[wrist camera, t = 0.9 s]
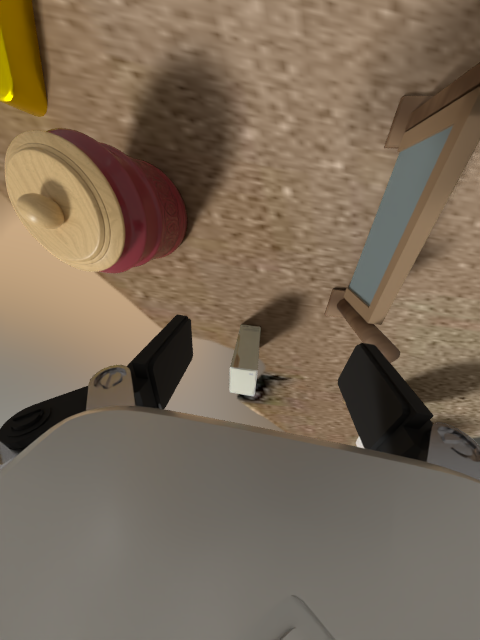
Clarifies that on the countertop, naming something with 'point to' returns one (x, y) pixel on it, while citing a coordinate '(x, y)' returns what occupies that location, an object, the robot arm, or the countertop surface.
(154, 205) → the canister
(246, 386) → the skincare box
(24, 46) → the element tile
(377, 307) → the panel
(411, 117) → the gate frame
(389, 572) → the robot arm
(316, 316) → the countertop surface
